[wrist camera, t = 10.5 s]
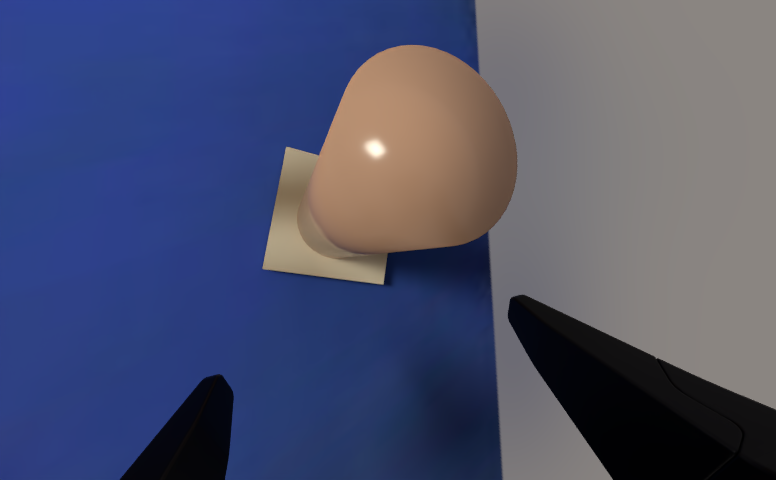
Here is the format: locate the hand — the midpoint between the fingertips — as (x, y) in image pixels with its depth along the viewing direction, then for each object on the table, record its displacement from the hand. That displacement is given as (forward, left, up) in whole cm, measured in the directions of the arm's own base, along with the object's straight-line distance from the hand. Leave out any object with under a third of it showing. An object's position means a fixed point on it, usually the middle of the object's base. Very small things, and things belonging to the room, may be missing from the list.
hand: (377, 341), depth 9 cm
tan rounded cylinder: (+4, -3, -11) cm, 12 cm away
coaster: (+4, -3, -11) cm, 13 cm away
